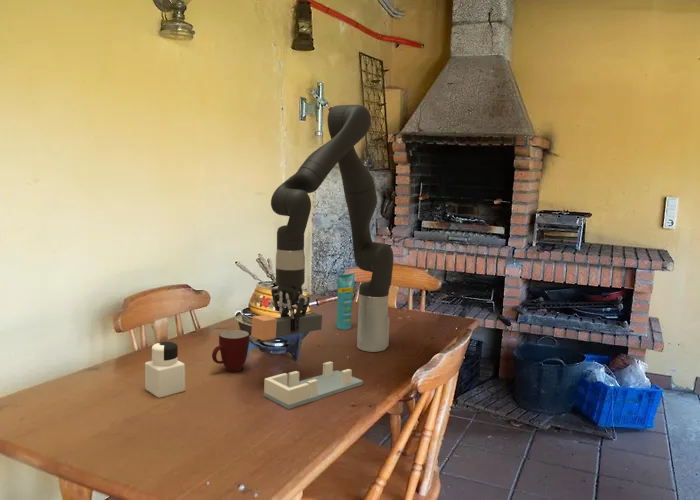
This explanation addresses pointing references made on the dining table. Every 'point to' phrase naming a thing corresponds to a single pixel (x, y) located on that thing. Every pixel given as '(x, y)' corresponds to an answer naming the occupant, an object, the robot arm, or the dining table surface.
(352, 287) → the tube
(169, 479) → the dining table surface
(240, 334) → the mug
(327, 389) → the clip
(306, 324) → the bar
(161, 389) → the medicine bottle
